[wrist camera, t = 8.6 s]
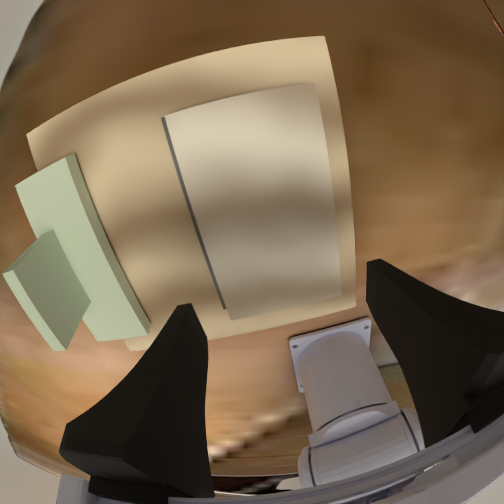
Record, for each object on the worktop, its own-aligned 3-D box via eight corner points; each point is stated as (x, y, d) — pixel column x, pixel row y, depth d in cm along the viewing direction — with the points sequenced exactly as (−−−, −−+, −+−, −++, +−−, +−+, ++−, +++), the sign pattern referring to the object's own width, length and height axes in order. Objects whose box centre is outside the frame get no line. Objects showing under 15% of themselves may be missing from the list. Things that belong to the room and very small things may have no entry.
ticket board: (350, 295, 24) (362, 318, 21) (134, 339, 24) (126, 363, 22) (317, 40, 14) (332, 30, 11) (38, 131, 15) (13, 138, 12)
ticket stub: (151, 324, 21) (134, 387, 16) (102, 332, 22) (80, 388, 16) (74, 153, 14) (14, 181, 9) (24, 180, 15) (-32, 215, 9)
